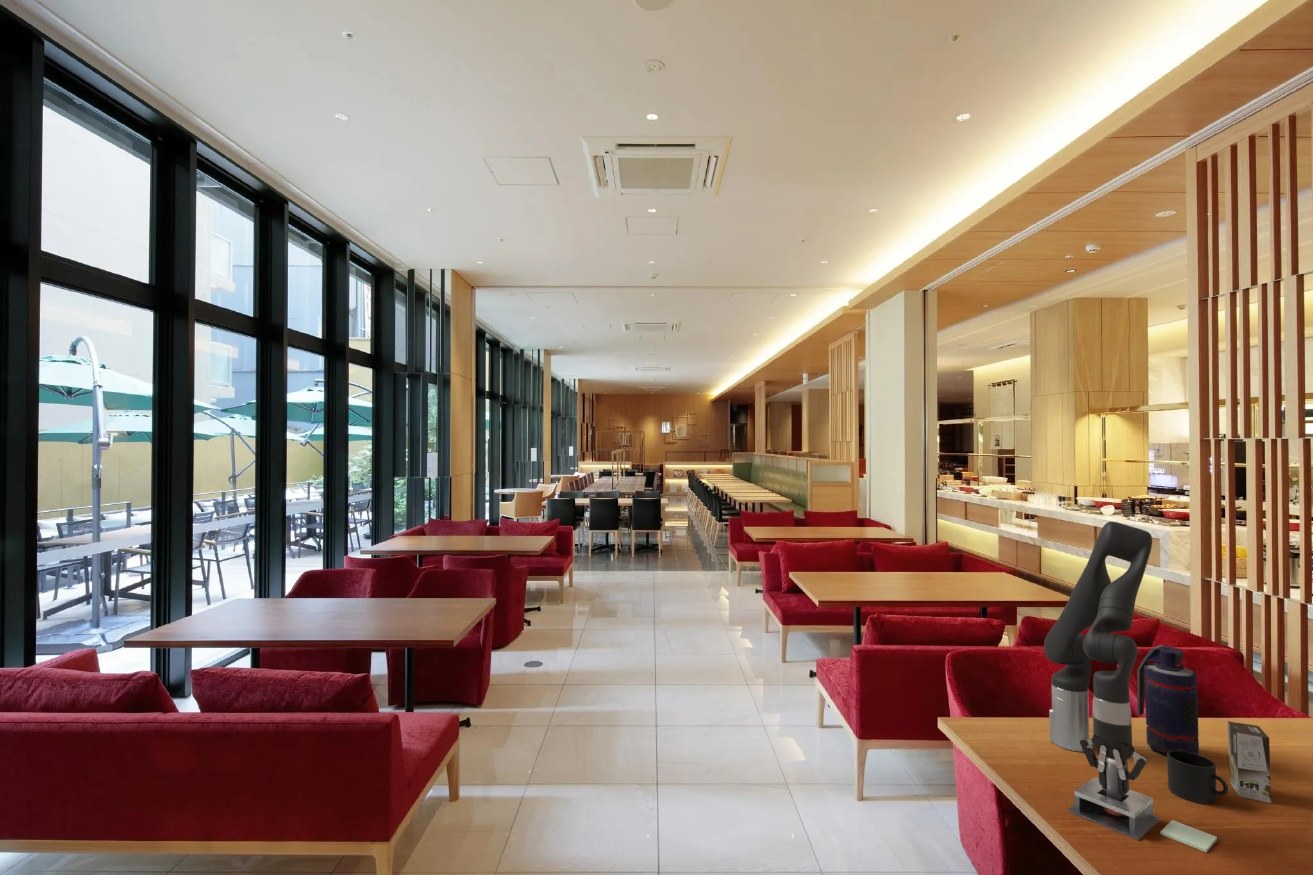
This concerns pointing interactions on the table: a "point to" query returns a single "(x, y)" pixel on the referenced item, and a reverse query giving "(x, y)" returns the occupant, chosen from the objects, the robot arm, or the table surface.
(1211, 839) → the pad
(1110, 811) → the button
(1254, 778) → the coffee box
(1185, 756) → the mug
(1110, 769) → the peg
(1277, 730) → the table surface
